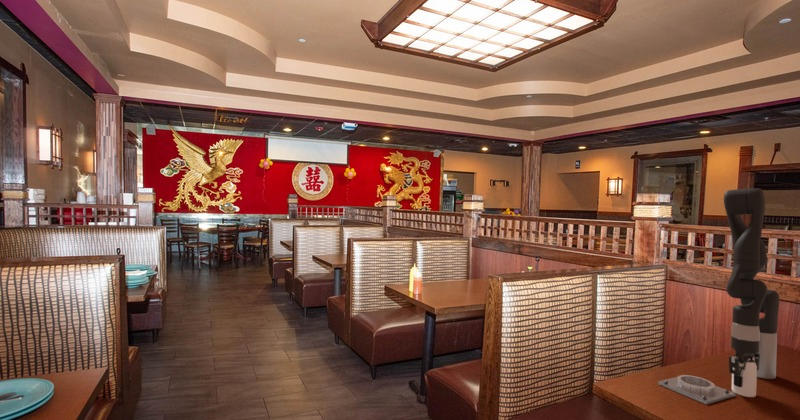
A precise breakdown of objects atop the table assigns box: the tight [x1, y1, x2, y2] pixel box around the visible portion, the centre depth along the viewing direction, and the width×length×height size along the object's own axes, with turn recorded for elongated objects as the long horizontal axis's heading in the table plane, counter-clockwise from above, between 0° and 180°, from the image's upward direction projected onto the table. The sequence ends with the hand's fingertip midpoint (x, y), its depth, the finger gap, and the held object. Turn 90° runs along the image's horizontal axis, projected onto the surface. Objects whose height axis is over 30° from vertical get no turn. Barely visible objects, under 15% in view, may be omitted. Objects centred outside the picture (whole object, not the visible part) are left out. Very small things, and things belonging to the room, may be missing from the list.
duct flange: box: [657, 374, 736, 406], centre depth 141 cm, size 16×16×3 cm
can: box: [731, 360, 758, 399], centre depth 139 cm, size 6×6×12 cm
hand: (743, 384), depth 139 cm, fingers closed on can, 6 cm apart
